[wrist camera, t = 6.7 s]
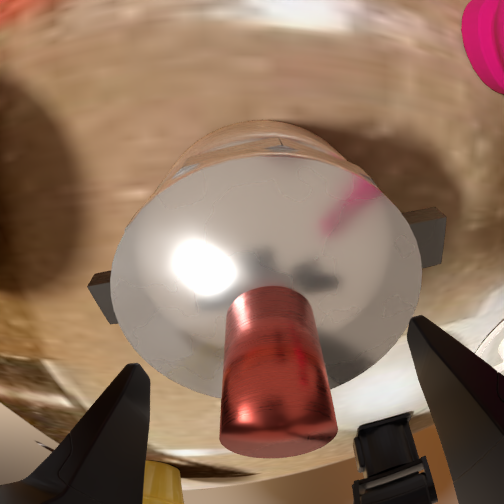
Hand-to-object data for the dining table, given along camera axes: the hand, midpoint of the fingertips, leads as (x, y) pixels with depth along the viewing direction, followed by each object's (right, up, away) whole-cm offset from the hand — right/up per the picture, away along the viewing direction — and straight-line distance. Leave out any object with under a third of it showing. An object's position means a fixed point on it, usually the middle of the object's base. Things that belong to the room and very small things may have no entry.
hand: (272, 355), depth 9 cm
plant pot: (-15, -29, +29) cm, 44 cm away
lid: (0, +2, +3) cm, 3 cm away
